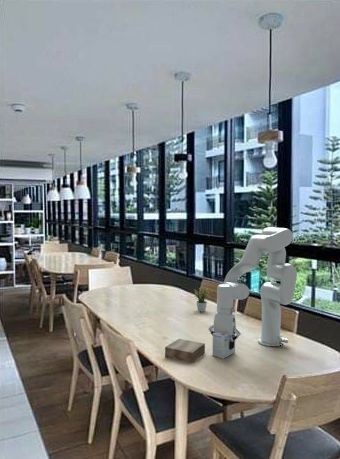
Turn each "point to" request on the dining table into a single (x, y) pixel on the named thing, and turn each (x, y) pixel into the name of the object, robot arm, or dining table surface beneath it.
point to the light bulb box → (222, 345)
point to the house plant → (201, 300)
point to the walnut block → (185, 350)
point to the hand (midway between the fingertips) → (223, 347)
